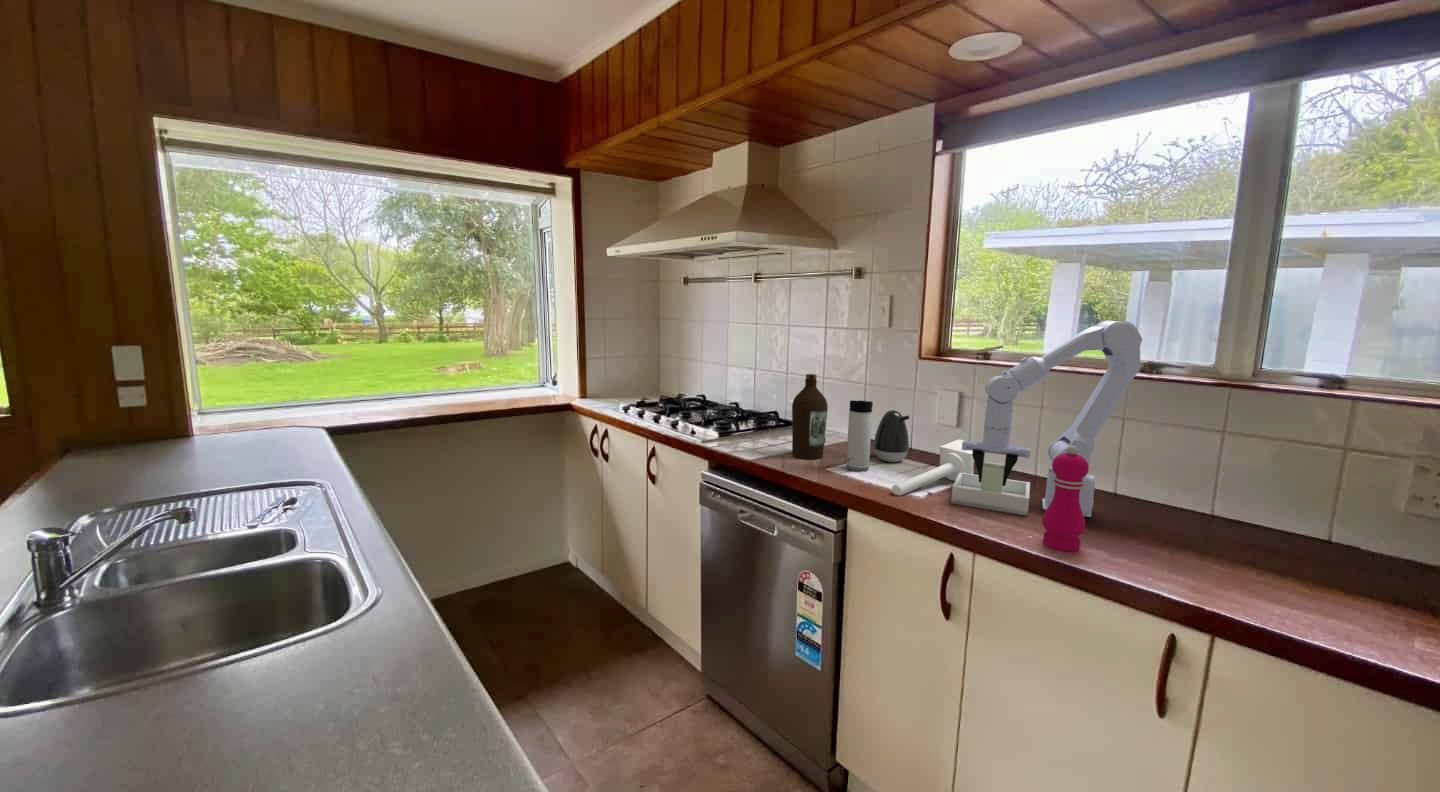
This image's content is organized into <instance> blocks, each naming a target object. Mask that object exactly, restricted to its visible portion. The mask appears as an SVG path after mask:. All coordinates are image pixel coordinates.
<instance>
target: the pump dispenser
mask: <svg viewBox="0 0 1440 792" xmlns="http://www.w3.org/2000/svg"><path fill="white" fill-rule="evenodd" d="M909 419H910V415H902V414H901V413H900V412H899V411H898V410H894V409H891V410H888V411H887V412H885V413H884V415H883V416H882V418H881V419H880V421H879V424H878V425H877V428H876V432H875V434H874V435H875V436H874V440H873V449H874V453H875V455H876V457H877V458H879V460H882V461H883V462H886V461H887V462H888V463H898V462H900V461H902V460H904V459H905V458H906V457H907V454H908V451H909V450H910V442H909V441H910V440H909V433H908V428H907V424H906V422H905V421H907V420H909Z"/></svg>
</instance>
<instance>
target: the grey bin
mask: <svg viewBox="0 0 1440 792" xmlns="http://www.w3.org/2000/svg"><path fill="white" fill-rule="evenodd" d="M1030 491H1031V481H1023V480H1015V479H1009V478H1007V481H1006V485H1005V486H1003V488H1002V493H996V492H989V491H983V490H981V482H979V476H978V474H975V473H973V474H967V473H960V472H959V474H958V476H957V479H956V481H954V483H953V484H952V487H951V500H950V503H951V504H955V505H961V506H967V507H973V508H979V509H985V510H991V511H995V512H1003V513H1009V514H1014V515H1020V516H1026V517H1027V516H1028V513H1029V506H1030V505H1029V504H1030Z"/></svg>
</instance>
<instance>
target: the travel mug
mask: <svg viewBox="0 0 1440 792" xmlns="http://www.w3.org/2000/svg"><path fill="white" fill-rule="evenodd" d="M848 412H849V413H848V427H847V441H846V442H847V443H846V444H847V445H846V447H847V448H846V462H845V463H846V464H845V467H846V469H847V470H849V471H851V470H852V472H862V471H863V472H868V471H869V469H870V457H871V455H870V454H871V439H872V437H871V436H872V422H873V401H870V400H868V401H867V400H860V399H859V400H849V410H848ZM863 472H862V473H863Z"/></svg>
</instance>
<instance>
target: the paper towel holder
mask: <svg viewBox="0 0 1440 792" xmlns="http://www.w3.org/2000/svg"><path fill="white" fill-rule="evenodd" d="M963 441H965V440H963V439H959V438H958V439H956V440H954V441H951V442H949V443H946V444H944V445H943V444H942V445H941V446H939V466H937V467H935V468H932V469H930V470H928V471H925V472H923V473H920V474H918V475H916V476H913V477H911V478H907V479H906V480H903V481H901V482H898V483H896V484H894V485H893V486H892V487H891V492H892V494H893V493H894V495H895V496H896V495H897V496H899V497H900V496H902V495H905V494H907V493H909V492H913V491H915V490H917V489H920V488H921V487H923V486H926V485H928V484H929V485H930V484H931V483H933V482H935V481H938V480H939V479H943V478H946V477H947V478H946V479H948V480H950V481H954V482H955V481H956V479H957V476H958V474H959V472H960V473H967V474H974V470H975V469H974V467H975V466H974V464H975V461H974V459H973V456H972V453H973V451H971V450H962V442H963Z"/></svg>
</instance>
